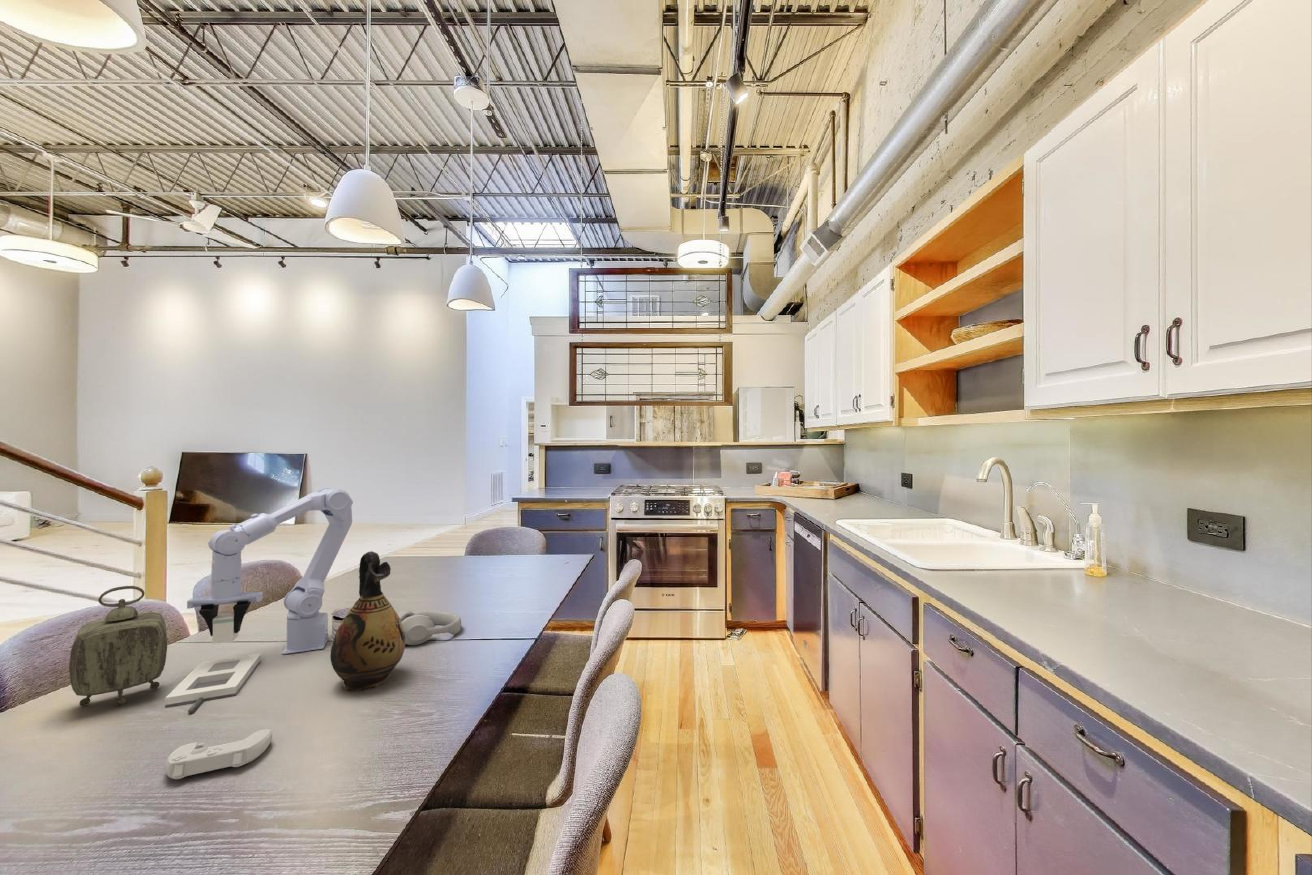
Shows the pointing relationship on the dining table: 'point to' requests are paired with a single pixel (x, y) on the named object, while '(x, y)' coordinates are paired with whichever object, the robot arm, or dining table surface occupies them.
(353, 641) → the ceramic jug
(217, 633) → the block
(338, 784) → the dining table surface
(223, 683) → the power strip
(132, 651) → the tabletop clock
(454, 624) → the headphones
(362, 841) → the dining table surface
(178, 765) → the game controller
